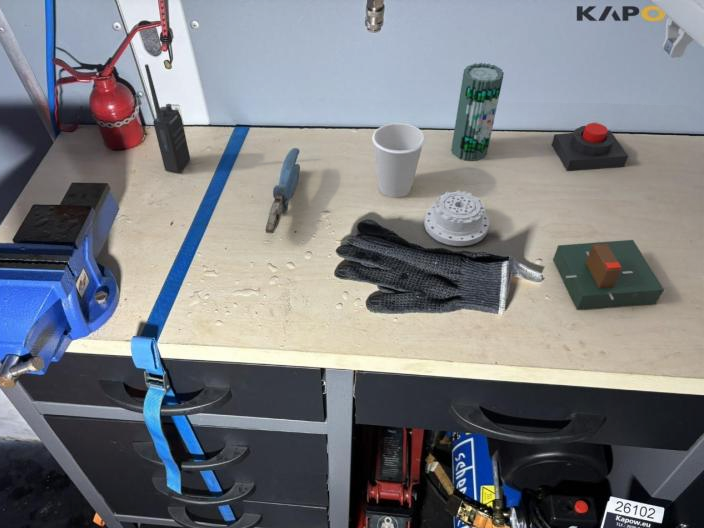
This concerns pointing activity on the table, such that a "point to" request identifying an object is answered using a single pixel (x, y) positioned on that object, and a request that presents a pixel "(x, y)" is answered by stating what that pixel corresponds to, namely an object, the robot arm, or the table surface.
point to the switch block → (588, 151)
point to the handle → (603, 266)
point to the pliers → (284, 189)
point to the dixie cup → (397, 157)
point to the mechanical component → (457, 219)
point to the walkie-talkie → (169, 133)
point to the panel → (629, 288)
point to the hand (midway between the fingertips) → (671, 52)
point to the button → (595, 133)
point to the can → (476, 110)
